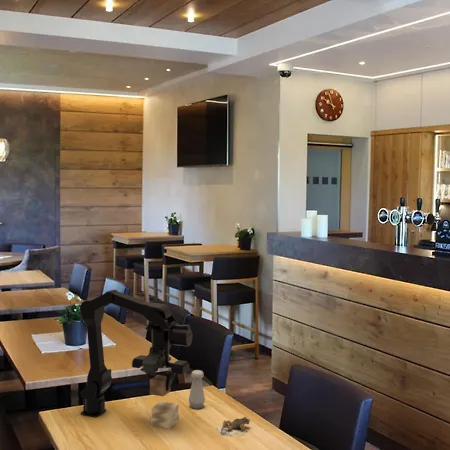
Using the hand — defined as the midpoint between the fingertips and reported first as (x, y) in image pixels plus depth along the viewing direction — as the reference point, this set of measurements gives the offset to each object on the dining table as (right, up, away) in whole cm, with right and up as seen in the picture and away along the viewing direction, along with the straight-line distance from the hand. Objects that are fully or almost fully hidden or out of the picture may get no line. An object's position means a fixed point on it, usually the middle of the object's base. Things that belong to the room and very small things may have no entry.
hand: (160, 389), depth 202 cm
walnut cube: (0, -1, 0) cm, 1 cm away
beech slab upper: (+1, -9, +1) cm, 9 cm away
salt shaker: (+11, -11, +16) cm, 22 cm away
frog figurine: (+24, -13, -2) cm, 28 cm away
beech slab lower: (+1, -12, +2) cm, 12 cm away
